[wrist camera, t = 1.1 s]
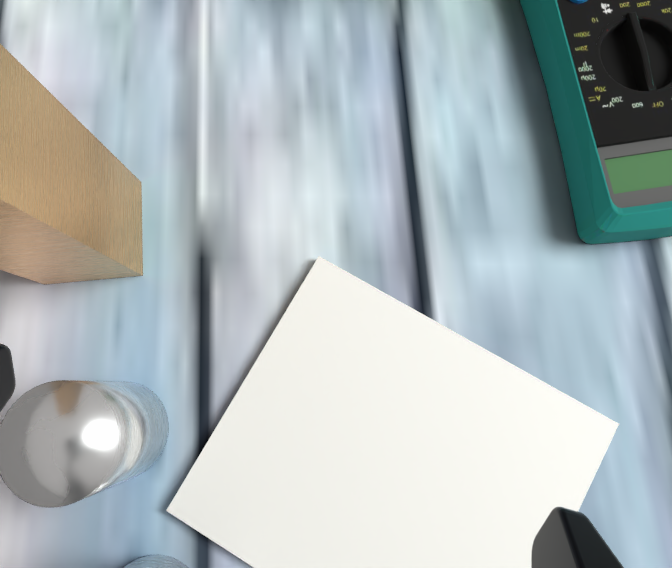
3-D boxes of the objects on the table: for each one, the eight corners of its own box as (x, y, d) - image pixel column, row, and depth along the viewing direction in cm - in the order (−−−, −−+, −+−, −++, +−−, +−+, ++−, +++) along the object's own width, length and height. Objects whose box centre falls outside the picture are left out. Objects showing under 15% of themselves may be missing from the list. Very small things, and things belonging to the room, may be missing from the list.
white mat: (478, 707, 20) (481, 715, 19) (170, 507, 21) (166, 510, 21) (612, 423, 22) (618, 423, 21) (319, 258, 23) (318, 256, 23)
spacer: (133, 499, 22) (70, 532, 17) (55, 447, 22) (-29, 465, 17) (186, 412, 22) (140, 419, 17) (109, 364, 23) (43, 358, 18)
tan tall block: (142, 275, 23) (-35, 180, 13) (44, 284, 23) (-217, 197, 13) (141, 182, 24) (-26, 18, 13) (46, 191, 24) (-197, 34, 13)
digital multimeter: (648, -53, 26) (684, -106, 24) (737, 228, 24) (791, 205, 21) (504, -30, 26) (523, -82, 24) (575, 253, 24) (606, 234, 21)
